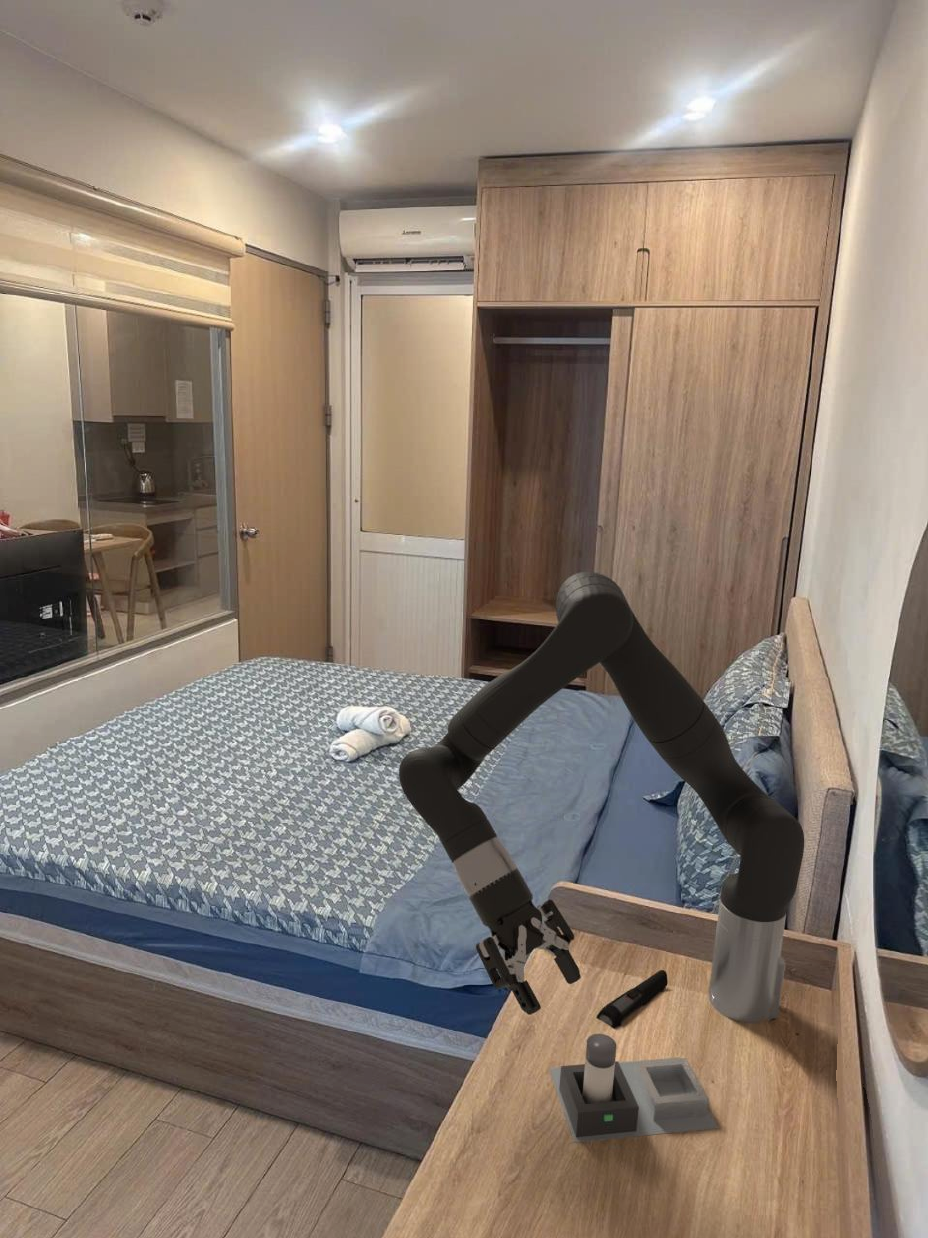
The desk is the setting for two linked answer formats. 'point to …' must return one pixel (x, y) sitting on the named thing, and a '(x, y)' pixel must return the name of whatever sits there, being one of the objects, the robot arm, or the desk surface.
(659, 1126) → the panel
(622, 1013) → the electric trimmer
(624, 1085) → the port
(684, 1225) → the desk surface
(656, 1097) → the square frame
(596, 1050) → the plug
